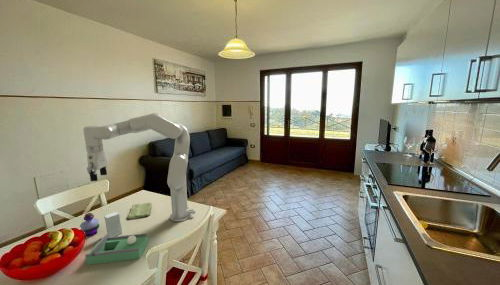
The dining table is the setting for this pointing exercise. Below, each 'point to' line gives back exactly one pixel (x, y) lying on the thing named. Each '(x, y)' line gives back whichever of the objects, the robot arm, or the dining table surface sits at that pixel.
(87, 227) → the purple rounded piece
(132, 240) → the ball
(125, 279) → the dining table surface
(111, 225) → the skincare box
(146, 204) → the washcloth
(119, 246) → the green
